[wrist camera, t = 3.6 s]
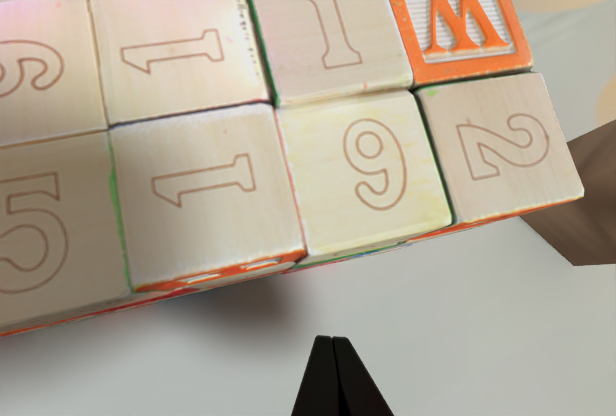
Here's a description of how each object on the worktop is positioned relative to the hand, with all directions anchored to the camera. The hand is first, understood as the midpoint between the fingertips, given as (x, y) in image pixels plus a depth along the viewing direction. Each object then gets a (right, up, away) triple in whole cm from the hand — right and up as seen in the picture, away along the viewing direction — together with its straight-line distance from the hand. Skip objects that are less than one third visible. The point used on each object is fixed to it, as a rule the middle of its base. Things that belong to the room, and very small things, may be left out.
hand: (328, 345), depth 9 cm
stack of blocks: (-7, +2, +9) cm, 12 cm away
